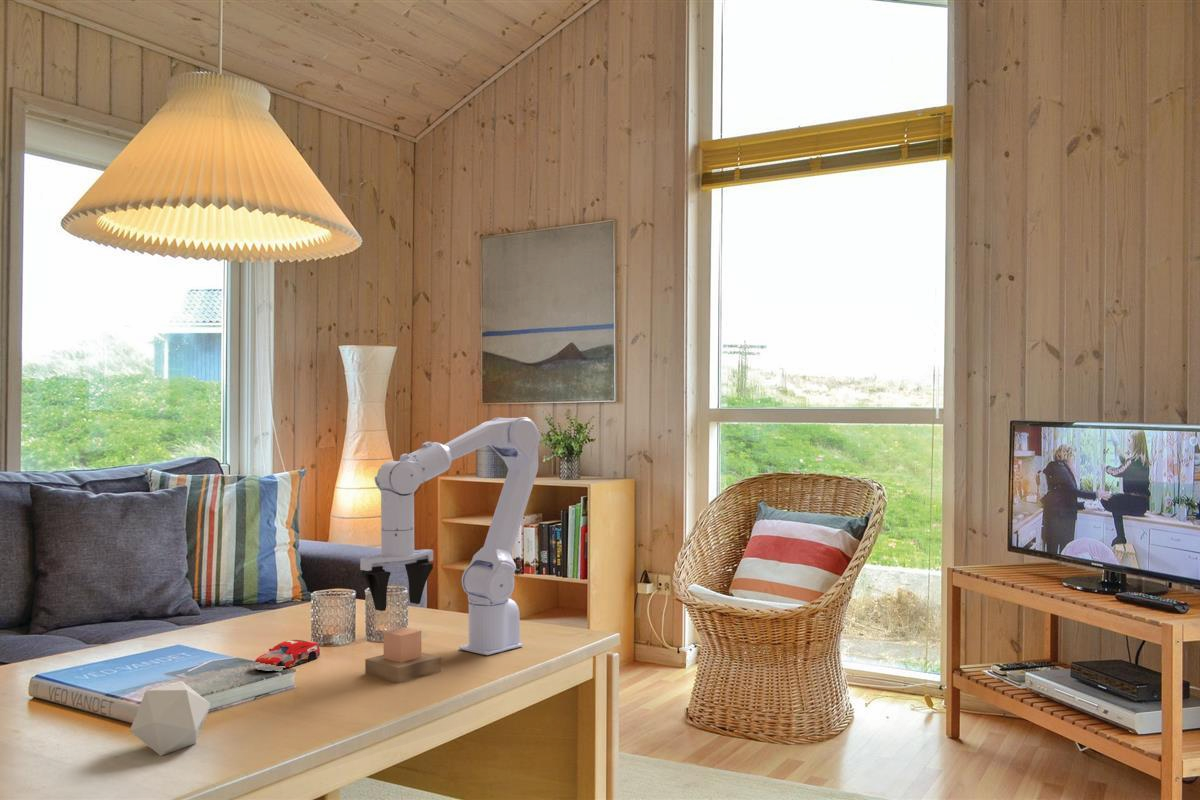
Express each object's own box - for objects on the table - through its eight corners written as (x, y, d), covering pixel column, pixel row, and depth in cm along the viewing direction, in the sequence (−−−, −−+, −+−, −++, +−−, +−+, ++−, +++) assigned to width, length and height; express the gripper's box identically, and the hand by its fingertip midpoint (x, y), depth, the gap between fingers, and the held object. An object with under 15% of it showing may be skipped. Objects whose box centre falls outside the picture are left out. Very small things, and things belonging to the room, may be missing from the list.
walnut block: (407, 666, 166) (407, 649, 166) (440, 674, 160) (440, 657, 160) (365, 676, 159) (365, 659, 159) (398, 686, 153) (398, 667, 153)
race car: (270, 677, 159) (270, 653, 159) (247, 673, 161) (247, 650, 161) (325, 658, 171) (325, 636, 171) (303, 655, 173) (303, 633, 173)
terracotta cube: (404, 652, 163) (404, 627, 163) (421, 657, 160) (421, 630, 160) (383, 658, 160) (383, 631, 160) (400, 662, 157) (400, 635, 157)
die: (210, 758, 121) (228, 683, 128) (149, 739, 116) (171, 662, 122) (170, 770, 125) (190, 697, 132) (109, 753, 120) (133, 677, 126)
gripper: (415, 523, 173) (415, 597, 173) (349, 531, 162) (349, 610, 162) (440, 526, 168) (441, 602, 168) (374, 534, 157) (374, 615, 157)
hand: (398, 606), depth 165 cm, fingers open, 7 cm apart
